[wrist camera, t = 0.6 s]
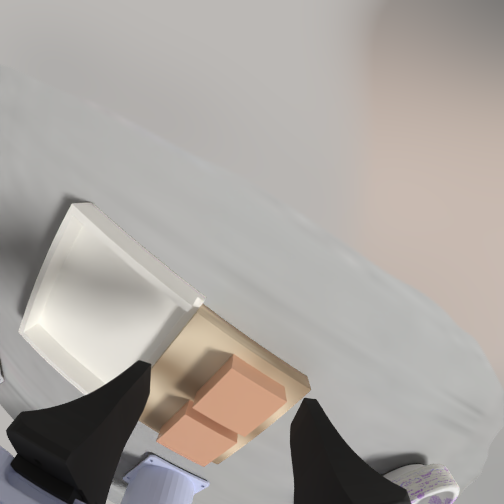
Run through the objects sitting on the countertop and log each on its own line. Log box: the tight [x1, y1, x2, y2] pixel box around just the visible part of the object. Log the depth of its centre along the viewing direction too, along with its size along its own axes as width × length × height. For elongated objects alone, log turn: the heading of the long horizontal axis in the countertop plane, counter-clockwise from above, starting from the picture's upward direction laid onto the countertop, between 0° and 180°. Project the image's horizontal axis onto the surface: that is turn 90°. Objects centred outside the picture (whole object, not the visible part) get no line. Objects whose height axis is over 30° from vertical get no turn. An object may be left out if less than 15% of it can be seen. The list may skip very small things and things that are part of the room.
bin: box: [19, 203, 206, 395], centre depth 21 cm, size 14×12×3 cm
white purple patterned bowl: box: [383, 464, 459, 504], centre depth 23 cm, size 15×15×8 cm
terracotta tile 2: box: [192, 354, 287, 437], centre depth 20 cm, size 5×5×2 cm
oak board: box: [139, 304, 311, 464], centre depth 22 cm, size 13×11×2 cm
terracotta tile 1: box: [156, 400, 238, 467], centre depth 21 cm, size 5×5×2 cm
